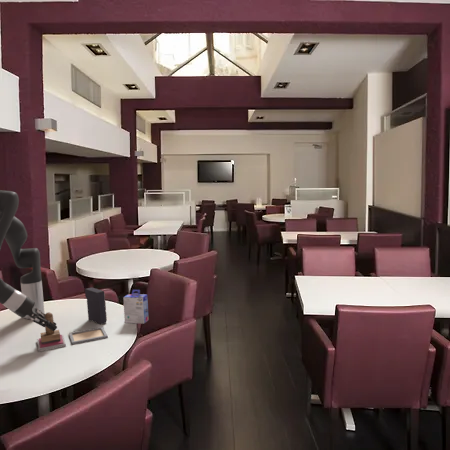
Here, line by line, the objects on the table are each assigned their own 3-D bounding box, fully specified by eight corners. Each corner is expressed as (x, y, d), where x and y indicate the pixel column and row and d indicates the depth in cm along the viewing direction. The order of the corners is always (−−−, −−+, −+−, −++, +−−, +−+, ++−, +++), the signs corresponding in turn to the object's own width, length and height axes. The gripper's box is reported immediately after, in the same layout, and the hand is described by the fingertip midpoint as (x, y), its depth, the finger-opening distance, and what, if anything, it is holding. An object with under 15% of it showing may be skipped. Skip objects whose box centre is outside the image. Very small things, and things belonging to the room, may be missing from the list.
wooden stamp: (41, 340, 175) (38, 312, 174) (59, 336, 178) (57, 309, 176) (41, 344, 170) (39, 316, 169) (60, 340, 173) (58, 312, 172)
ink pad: (37, 341, 177) (37, 338, 177) (63, 337, 182) (62, 333, 181) (38, 351, 167) (38, 347, 167) (65, 346, 172) (65, 342, 171)
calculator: (108, 322, 197) (105, 290, 195) (99, 325, 194) (97, 292, 192) (95, 317, 205) (93, 286, 203) (87, 320, 202) (84, 288, 200)
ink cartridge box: (149, 319, 199) (147, 289, 197) (144, 324, 194) (143, 292, 192) (129, 319, 201) (127, 288, 199) (124, 323, 196) (122, 292, 194)
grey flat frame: (69, 334, 184) (68, 332, 184) (102, 328, 190) (102, 326, 190) (72, 344, 173) (72, 342, 173) (107, 337, 179) (107, 335, 179)
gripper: (26, 300, 162) (63, 325, 169) (25, 291, 175) (60, 315, 182) (11, 316, 161) (49, 341, 167) (12, 306, 173) (47, 329, 180)
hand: (55, 327), depth 174 cm, fingers closed on wooden stamp, 3 cm apart
